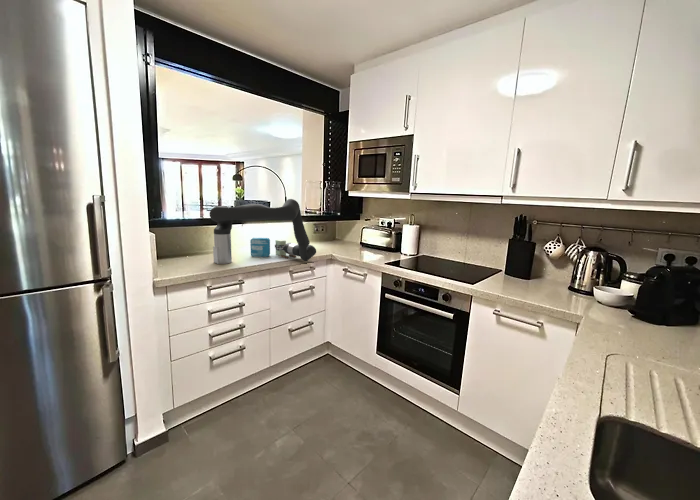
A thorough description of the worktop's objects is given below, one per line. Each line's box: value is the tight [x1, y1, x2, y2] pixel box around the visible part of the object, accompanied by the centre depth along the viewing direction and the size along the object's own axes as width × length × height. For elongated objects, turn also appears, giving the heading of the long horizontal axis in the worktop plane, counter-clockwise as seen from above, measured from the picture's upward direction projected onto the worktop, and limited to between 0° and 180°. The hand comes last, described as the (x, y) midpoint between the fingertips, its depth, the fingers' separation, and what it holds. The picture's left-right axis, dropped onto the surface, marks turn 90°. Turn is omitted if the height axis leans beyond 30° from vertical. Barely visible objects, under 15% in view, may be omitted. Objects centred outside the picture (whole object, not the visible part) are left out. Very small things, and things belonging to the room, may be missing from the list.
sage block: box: [275, 239, 287, 257], centre depth 213 cm, size 4×6×10 cm
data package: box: [249, 237, 271, 258], centre depth 206 cm, size 12×4×12 cm, turn 98°
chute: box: [280, 254, 297, 259], centre depth 207 cm, size 7×7×1 cm
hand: (278, 245), depth 214 cm, fingers closed on sage block, 4 cm apart
